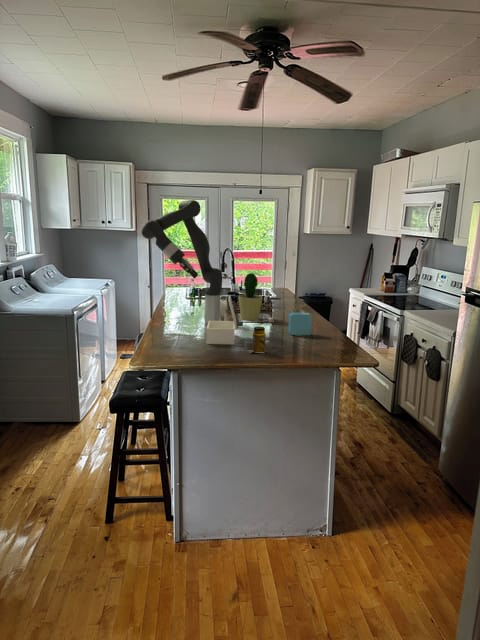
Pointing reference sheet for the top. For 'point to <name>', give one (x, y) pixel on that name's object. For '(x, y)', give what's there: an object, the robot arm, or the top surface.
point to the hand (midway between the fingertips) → (196, 276)
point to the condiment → (259, 339)
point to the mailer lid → (232, 311)
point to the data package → (300, 324)
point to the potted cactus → (250, 300)
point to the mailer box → (220, 332)
